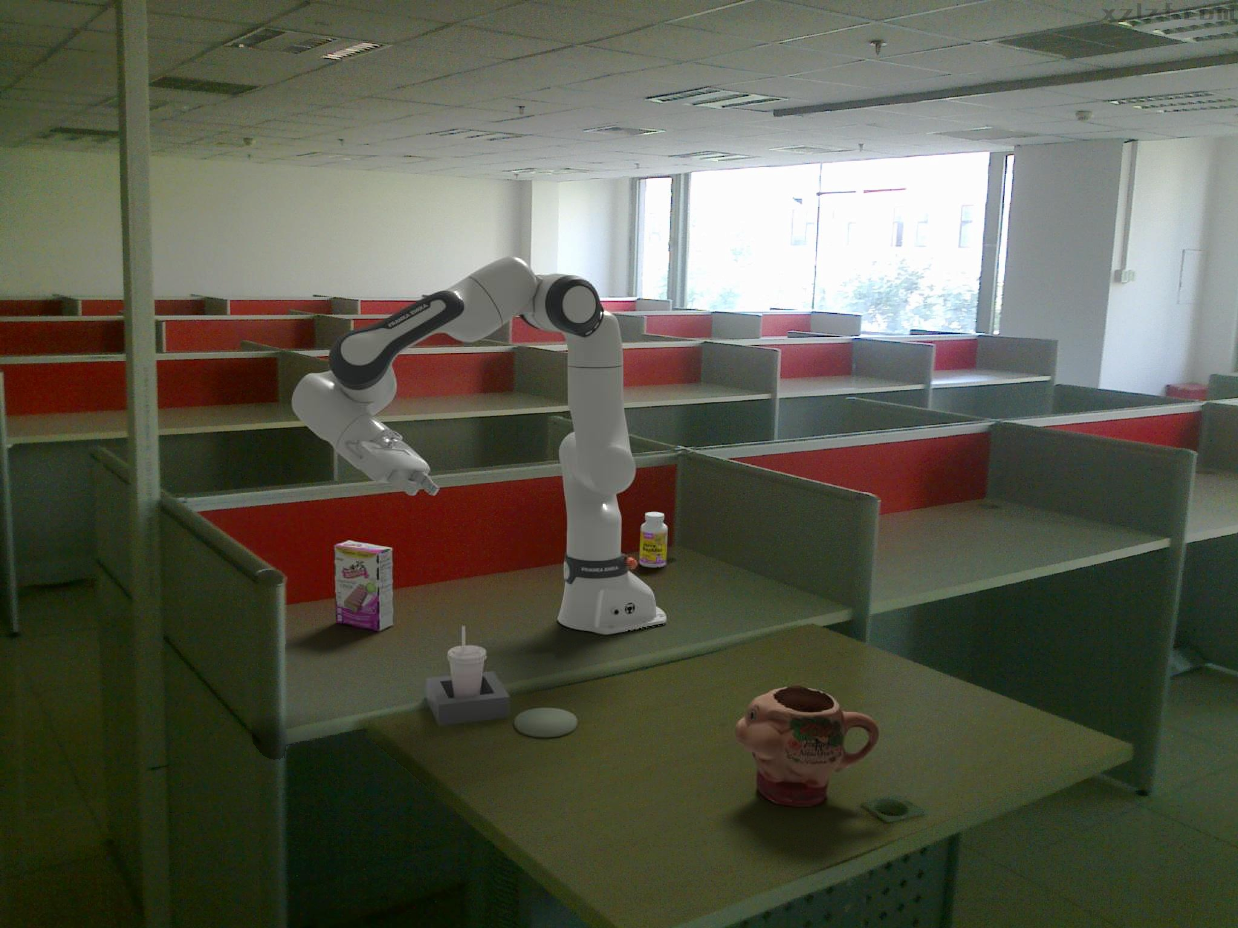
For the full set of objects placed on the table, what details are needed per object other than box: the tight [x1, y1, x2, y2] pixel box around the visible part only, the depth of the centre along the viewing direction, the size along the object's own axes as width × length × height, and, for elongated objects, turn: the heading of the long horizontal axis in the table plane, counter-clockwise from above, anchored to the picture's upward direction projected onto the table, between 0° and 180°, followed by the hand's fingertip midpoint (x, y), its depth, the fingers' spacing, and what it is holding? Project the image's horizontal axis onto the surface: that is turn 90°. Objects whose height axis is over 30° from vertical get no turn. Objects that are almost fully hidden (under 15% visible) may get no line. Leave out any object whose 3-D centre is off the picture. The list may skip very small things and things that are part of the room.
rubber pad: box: [513, 707, 578, 739], centre depth 170 cm, size 10×10×1 cm
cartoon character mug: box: [734, 685, 880, 808], centre depth 149 cm, size 20×12×14 cm, turn 94°
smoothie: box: [447, 625, 488, 698], centre depth 174 cm, size 6×6×14 cm
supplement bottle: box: [638, 511, 668, 569], centre depth 262 cm, size 7×7×13 cm
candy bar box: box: [333, 539, 394, 632], centre depth 213 cm, size 11×5×16 cm, turn 65°
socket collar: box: [425, 670, 511, 727], centre depth 175 cm, size 12×12×4 cm
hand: (426, 492), depth 184 cm, fingers open, 8 cm apart
